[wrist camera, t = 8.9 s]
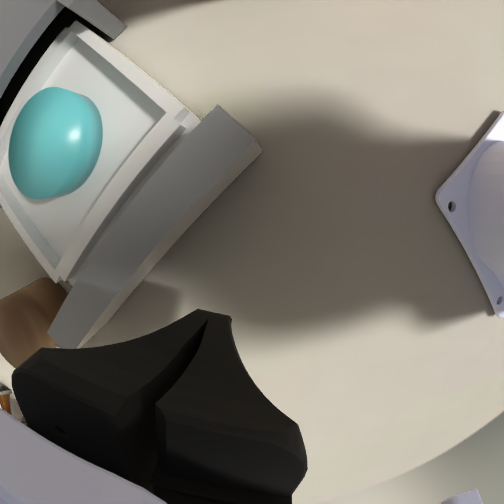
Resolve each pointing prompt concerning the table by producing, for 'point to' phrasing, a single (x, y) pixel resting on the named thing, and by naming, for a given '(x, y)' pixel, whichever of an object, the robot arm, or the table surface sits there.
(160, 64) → the table surface
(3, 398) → the brown slender angled part
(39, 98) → the teal rounded dome
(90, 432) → the robot arm
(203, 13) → the table surface
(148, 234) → the tray
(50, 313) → the pedestal
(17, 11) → the housing
